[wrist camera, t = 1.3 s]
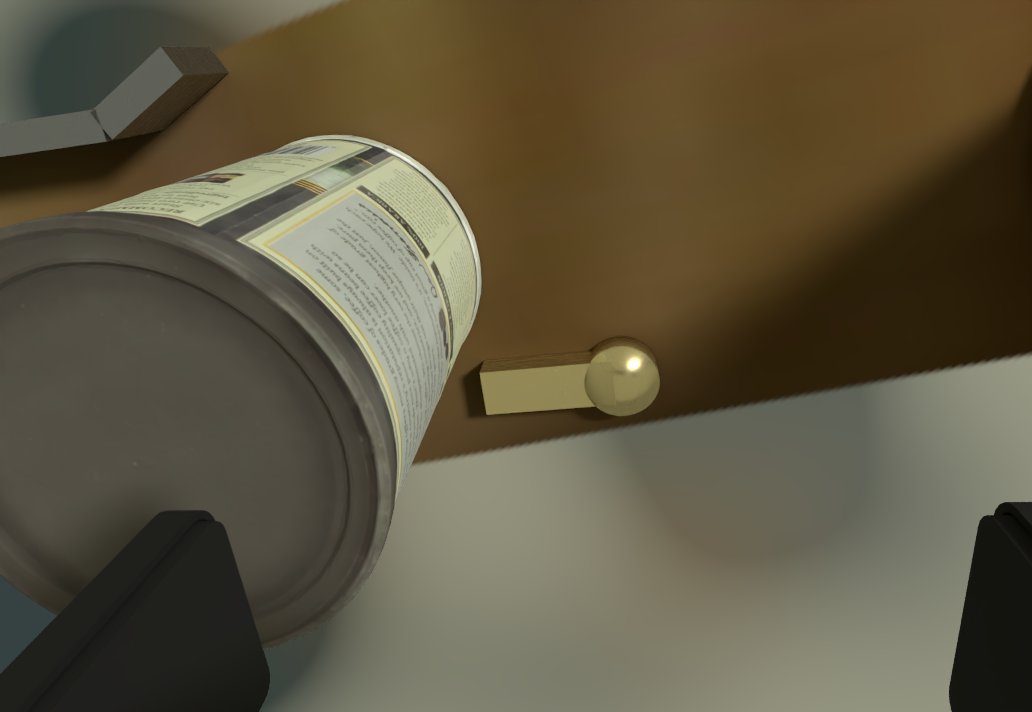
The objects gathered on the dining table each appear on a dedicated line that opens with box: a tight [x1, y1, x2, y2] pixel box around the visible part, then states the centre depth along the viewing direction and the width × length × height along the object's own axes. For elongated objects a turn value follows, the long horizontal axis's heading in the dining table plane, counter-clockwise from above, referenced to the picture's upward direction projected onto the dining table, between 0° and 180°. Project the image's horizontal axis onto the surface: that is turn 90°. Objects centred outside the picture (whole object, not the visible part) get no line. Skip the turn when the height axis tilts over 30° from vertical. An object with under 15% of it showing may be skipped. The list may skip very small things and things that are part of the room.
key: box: [480, 336, 660, 416], centre depth 28 cm, size 7×3×1 cm, turn 98°
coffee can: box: [0, 135, 481, 650], centre depth 21 cm, size 10×10×14 cm
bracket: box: [0, 47, 228, 157], centre depth 27 cm, size 13×17×4 cm
